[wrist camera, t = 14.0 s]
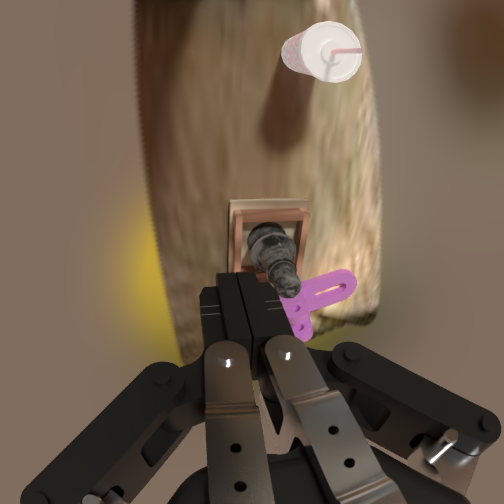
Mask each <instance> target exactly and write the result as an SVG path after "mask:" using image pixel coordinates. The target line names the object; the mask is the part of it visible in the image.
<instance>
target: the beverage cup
mask: <svg viewBox="0 0 504 504" xmlns="http://www.w3.org/2000/svg"><path fill="white" fill-rule="evenodd" d="M281 56H282V59H283V62H284V63H285V64H286V66H287V67H288V68H290V69H291V70H293V71H295V72H299V73H304V74H308V75H312V76H314V77H316V78H317V79H319V80H321V81H326V82H333V83H337V82H341V81H345V80H348V79H349V78H350V77H351V76H353V75H354V74H355V73H356V72H357V70H358V68H359V66H360V64H361V57H362V49H361V47H360V43H359V40H358V39H357V37H356V36H355V35H354V33H353V32H352V31H351V30H350V29H349V28H347V27H345V26H344V25H342V24H341V23H336V22H332V21H326V22H321V23H316V24H314V25H312V26H311V27H310V28H308V29H307V30H306V31H304V32H302V33H300V34H298V35H295V36H293V37H291V38H290V39H288V40H287V41H286V42H285V43H284V45H283V47H282V53H281Z"/></svg>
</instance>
